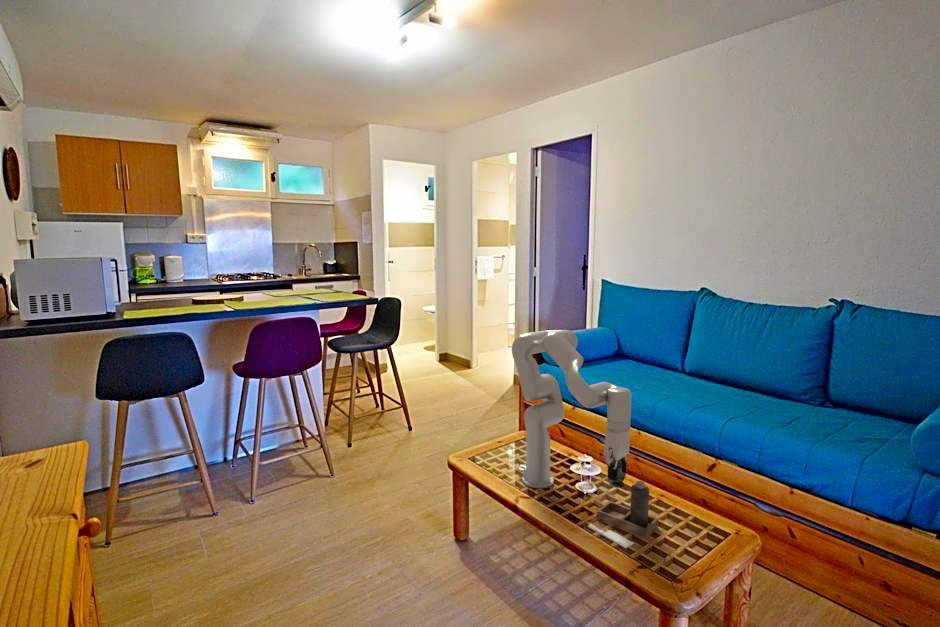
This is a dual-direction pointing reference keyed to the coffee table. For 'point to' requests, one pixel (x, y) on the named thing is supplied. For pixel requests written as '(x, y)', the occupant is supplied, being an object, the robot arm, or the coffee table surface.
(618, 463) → the salt shaker
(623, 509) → the cruet stand
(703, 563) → the coffee table surface
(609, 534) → the white plastic blade
